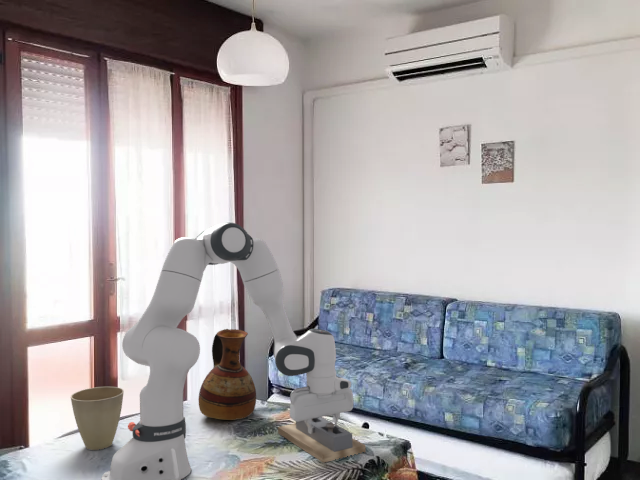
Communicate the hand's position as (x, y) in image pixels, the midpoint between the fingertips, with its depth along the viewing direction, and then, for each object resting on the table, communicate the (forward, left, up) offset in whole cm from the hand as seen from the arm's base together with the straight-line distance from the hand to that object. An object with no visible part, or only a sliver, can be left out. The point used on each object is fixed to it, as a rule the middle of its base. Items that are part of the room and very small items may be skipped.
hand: (322, 430), depth 175 cm
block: (0, 0, -2) cm, 2 cm away
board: (0, +2, -4) cm, 4 cm away
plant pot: (-57, +36, -4) cm, 67 cm away
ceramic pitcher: (-14, +41, -4) cm, 43 cm away
